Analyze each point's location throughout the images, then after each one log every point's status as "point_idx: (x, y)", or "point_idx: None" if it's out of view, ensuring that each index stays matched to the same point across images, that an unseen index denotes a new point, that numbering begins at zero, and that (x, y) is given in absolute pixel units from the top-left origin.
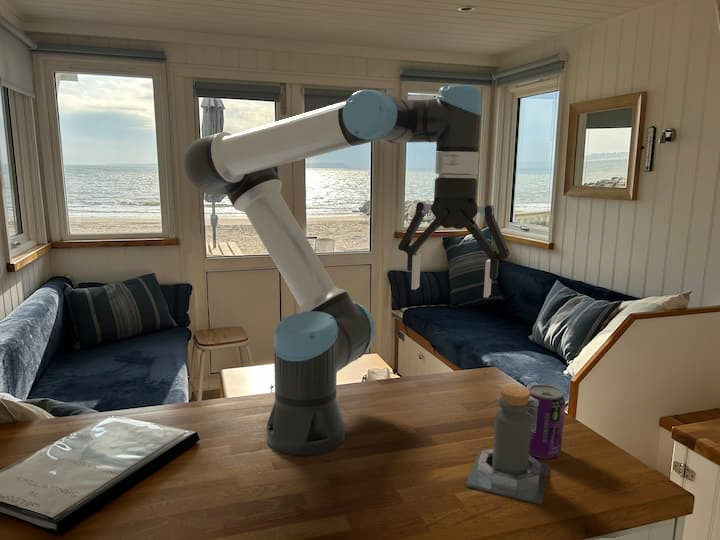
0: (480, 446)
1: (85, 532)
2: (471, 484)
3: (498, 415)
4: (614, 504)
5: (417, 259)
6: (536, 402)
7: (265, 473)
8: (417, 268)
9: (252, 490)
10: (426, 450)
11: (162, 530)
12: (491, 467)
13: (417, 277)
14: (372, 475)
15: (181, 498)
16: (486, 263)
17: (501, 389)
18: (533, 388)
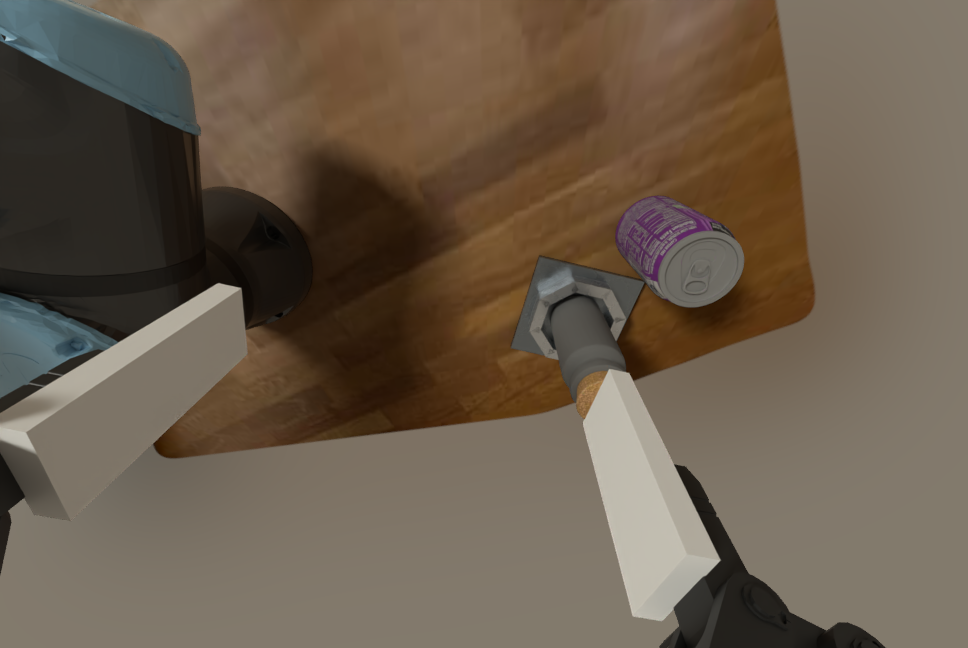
0: (542, 232)
1: (170, 458)
2: (518, 349)
3: (566, 378)
4: (699, 351)
5: (97, 466)
6: (662, 296)
7: (254, 358)
8: (156, 404)
9: (263, 389)
10: (450, 263)
11: (228, 449)
12: (547, 341)
13: (202, 360)
14: (386, 341)
15: (203, 410)
16: (634, 600)
17: (578, 401)
18: (677, 255)
